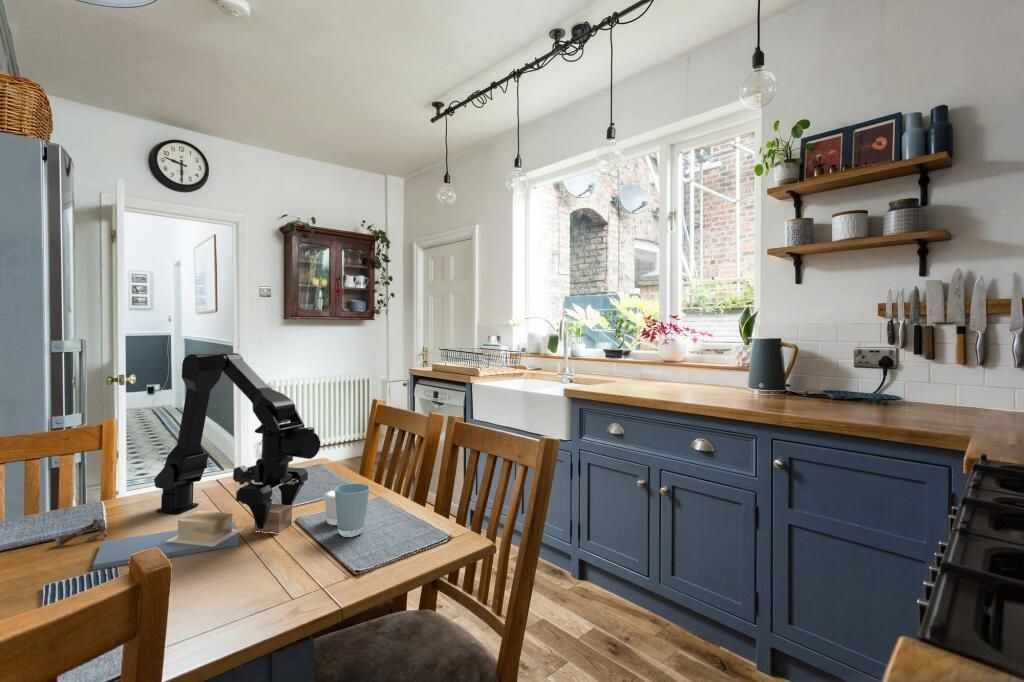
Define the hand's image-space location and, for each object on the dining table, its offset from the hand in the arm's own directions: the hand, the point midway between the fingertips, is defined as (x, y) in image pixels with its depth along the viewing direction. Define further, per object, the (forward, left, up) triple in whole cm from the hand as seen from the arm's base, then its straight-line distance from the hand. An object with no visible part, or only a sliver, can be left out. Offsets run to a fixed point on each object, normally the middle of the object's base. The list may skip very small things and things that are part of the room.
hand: (273, 521), depth 116 cm
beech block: (+9, -10, -1) cm, 13 cm away
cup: (-2, +18, -2) cm, 18 cm away
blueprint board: (+13, -15, -2) cm, 19 cm away
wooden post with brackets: (+15, -33, -2) cm, 37 cm away
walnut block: (0, 0, -2) cm, 2 cm away
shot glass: (-8, +12, -2) cm, 15 cm away
